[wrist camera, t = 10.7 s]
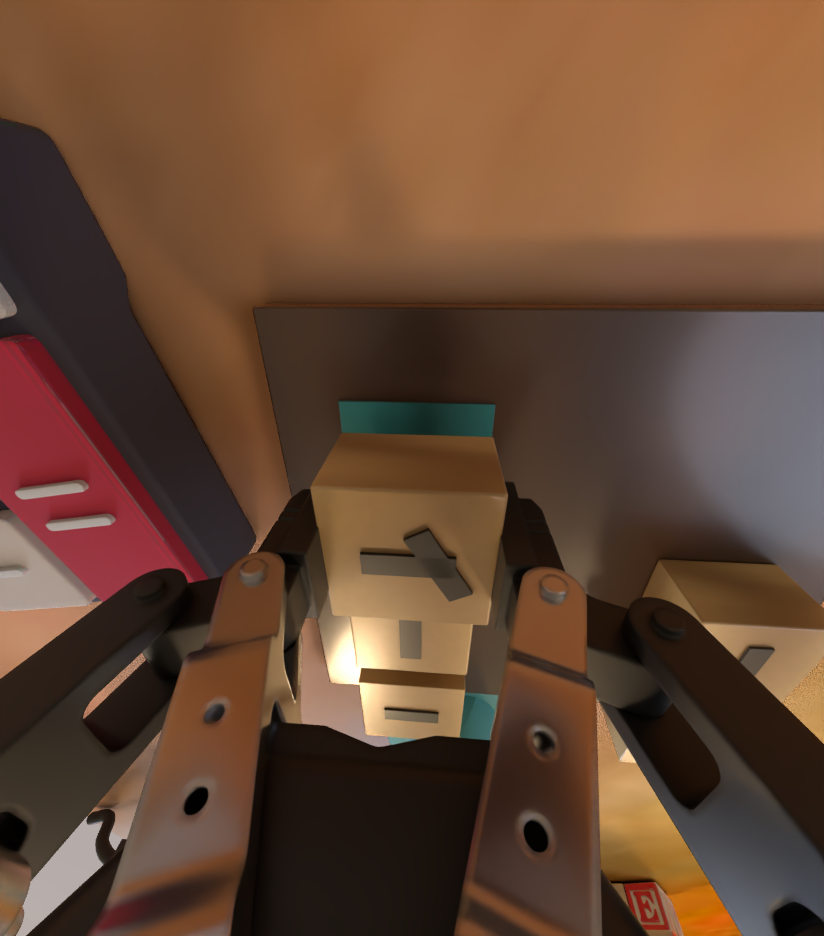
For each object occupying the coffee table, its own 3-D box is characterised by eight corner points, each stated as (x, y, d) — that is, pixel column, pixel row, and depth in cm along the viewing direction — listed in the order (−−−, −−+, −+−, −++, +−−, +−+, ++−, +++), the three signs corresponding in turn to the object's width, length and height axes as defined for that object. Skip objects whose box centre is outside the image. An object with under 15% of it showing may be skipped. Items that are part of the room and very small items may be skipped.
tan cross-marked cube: (353, 545, 13) (330, 619, 11) (340, 431, 11) (306, 489, 8) (480, 552, 13) (489, 630, 10) (493, 435, 11) (510, 497, 8)
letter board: (333, 666, 22) (312, 745, 18) (264, 303, 12) (189, 323, 8) (720, 694, 20) (778, 785, 17) (1014, 305, 10) (1305, 331, 7)
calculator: (-6, 624, 16) (-546, 208, 8) (76, 551, 20) (-241, 214, 12) (222, 609, 14) (-179, 61, 6) (266, 532, 18) (47, 122, 10)
